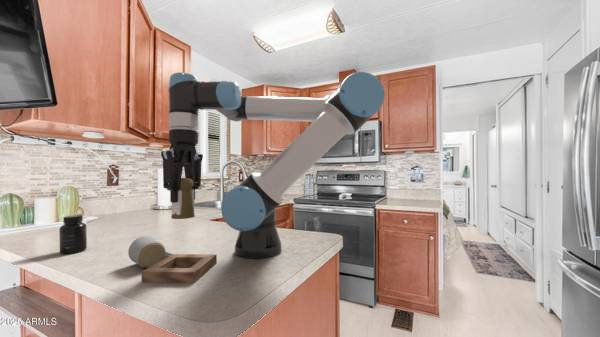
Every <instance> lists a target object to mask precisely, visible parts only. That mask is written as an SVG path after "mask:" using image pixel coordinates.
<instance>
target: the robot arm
mask: <svg viewBox="0 0 600 337" xmlns="http://www.w3.org/2000/svg"><path fill="white" fill-rule="evenodd" d="M168 86H169V87H168V94H169V95H168V98H169V100H168V102H169V106H168V109H169V112H168V128H169V129H170V130H169V131H168V143H169V144H170V146H169V149H167V150H162V151H161V152H160V155H161V156H160V157H161V159H162V173H163V174H162V175H163V176H162V183H163V188H164V189H166V190H167V191H170V199H169V202H170V203H171V215H172V214H173V215H174V214H175V213H176V214H177V215H181V206H182V191H180V190H179V188H180V182H181V178H182V177H183V170H184V175H185V177H184V178H189V179H192V181H193V188H192V189H191V192H192V200H193V207H194V208H195V199H196V190H199V187H201V185H202V160H203V158H204V156H203V155H204V154H202V153H198V152H197V149H196V145H198V144H199V132H198V130H199V110H201V111H202V110H203V111H204V110H205V111H206V110H209V111H210V110H212V111H213V110H214V111H217V112H218V113H220V114H221V115H222V116H224V117H226V119H228V120H230V121H234V122H241V121H243V120H250V121H251V120H254V121H255V120H256V121H257V120H258V121H280V122H282V121H283V122H284V121H286V122H304V123H305V122H309V123H310V122H311V123H310V124H309V125H308V126H307V127H306V128H305V129H304V130H303V131H302V132H301V133H300V134H299V135H298V136H297V137H296V138H294V140H292V142H290V143H289V144H288V145H287V146H286V147H285V148H284V149H283V150H282V151H281V152H280V153H279V154H278V155H277V157H275V158H274V159H273V160H271V162H270V163H269V164H268V165H267V166H266V167H265V168H263V169H262V171H260V172H251V173H250V175H249V176H247V177H246V178H245V179H244V180H242V181H241V182H240V184H239V185H238V186H235V187H233V188H231V189H230V190H228V192H226V194H225V195H224V196H223V198H222V201H221V204H220V212H221V215H222V218H223V220H224V222H225V223H226V225H228V226H229V227H230V228H232V229H233V230H235V231H239V232H238V235H237V239H236V241H235V245H234V254H235V255H236V256H238V257H240V258H245V259H263V258H270V257H273V256H276V255H278V254H280V253H281V252H282V242H281V238H280V235H279V232H278V229H277V221H276V220H277V214H276V212H277V208H278V207H279V206H280V205H281V204H282V203H283V195H284V194H285V193H286V192H287V191H288V190H289V189H290V188H291V187H292V186H294V184H295V183H296V182H297V181H298V180H299V179H300V178H302V177H303V176H304V175H305V174H306V172H309V170H310V169H311V168H312V167H313V166H314V165H315V164H316V163H317V162H318V161H319V160H320V159H321V158H323V157H324V156H325V154H326V153H328V151H330V149H332V148H333V147H334V146H335V145H336V144H337V143H338V142H339V141H340V140H341V139H342V138H343V137H344V136H345V135H354V134H355V133H356V132H358V130H360V129H361V127H362V126H364V125H365V124H366V123H367V122H368V121H369V120H370V119H371V118H372V117H373V116H375V115H376V114H377V113H378V112H379V111H380V110H381V109H382V107H383V104H384V102H385V98H386V96H385V95H386V92H385V87H384V85H383V84H382V82H381V81H380V79H379V78H378V77H377V76H376V75H374V74H373V73H370V72H365V71H364V72H363V71H357V72H353V73H351V74H349V75H347V77H346V78H345V79H343V81H341V83H340V86H339V88H338V89H337V91H335V92H334V93H333V94H332V95H330V94H329V95H328V94H327V95H326V96H325V97H323V98H322V97H321V98H319V97H318V98H316V97H315V98H313V97H287V96H286V97H284V96H281V97H279V96H253V95H252V96H251V95H247V96H246V95H245V96H244V95H242V91H241V88H240V85H239V84H238V83H237V82H236V81H227V80H221V81H199V79H198V77H197V76H196V75H193V74H191V73H185V72H175V73H172V74H171V75H170V77H169V85H168Z"/></svg>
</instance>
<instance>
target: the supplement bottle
mask: <svg viewBox="0 0 600 337" xmlns="http://www.w3.org/2000/svg"><path fill="white" fill-rule="evenodd" d="M83 220H84V219H83V215H81V214H75V215H74V214H73V215H66V216H64V217H63V222H62V223H63V225H61V226H60V227H59V254H60V255H75V254H79V253H81V252H84V251H86V250H87V248H88V247H87V245H88V239H87V237H88V236H87V234H88V233H87V224H86V223H85V222H83Z"/></svg>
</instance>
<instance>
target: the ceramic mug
mask: <svg viewBox="0 0 600 337" xmlns="http://www.w3.org/2000/svg"><path fill="white" fill-rule="evenodd" d="M127 254H128V258H129V259H130V260H131V261H132V262H134V263H135V264H137V265H138V266H140V267H141V268H145V269H147V268H149V267H151V266H153V265H154V264H156V263H158V262H160V261H162V260H163V259H165V258H167V257H169V256H170V255H172V254H173V253H171V252H167V251H166V248H165V246H164V244H162V242H160V241H159V240H156V238H154V237H152V236H149V235H144V236H143V235H142V236H139V237H137V238H136V239H135V240H133V241H132V242H131V244H130V245H129V247H128V252H127Z"/></svg>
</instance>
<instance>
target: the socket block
mask: <svg viewBox="0 0 600 337" xmlns="http://www.w3.org/2000/svg"><path fill="white" fill-rule="evenodd" d="M171 254H172V255H170V256H169V257H167V258H165V259H163V260H162V261H160V262H158V263H156V264H154V265H153V266H151V267H149V268H145V269H143V270H142V271H141V283H158V284H159V283H164V284H165V283H169V284H171V283H173V284H174V283H175V284H195V283H197V281H199V280H200V279H201V278H202V277H203V276H204V275H205V274H206V273H208V272H209V271H210V270H211V269H212V268H214V266H216V265H217V264H218V263H217V261H218V260H217V257H218V256H217V254H204V253H203V254H199V253H198V254H197V253H196V254H195V253H194V254H191V253H189V254H187V253H176V254H175V253H171ZM175 266H176V267H175ZM186 267H187V268H186ZM210 268H211V269H210ZM209 269H210V270H209ZM208 270H209V271H208ZM200 277H201V278H200ZM199 278H200V279H199ZM198 279H199V280H198Z"/></svg>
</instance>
